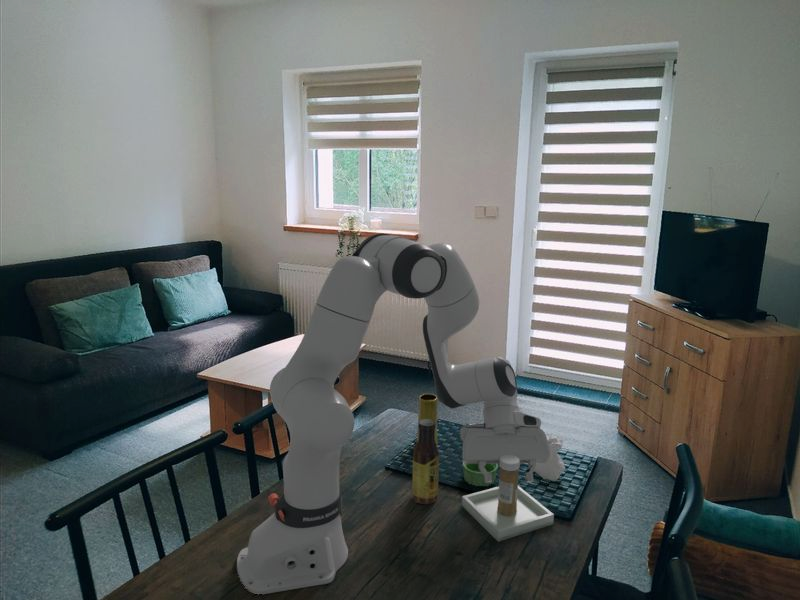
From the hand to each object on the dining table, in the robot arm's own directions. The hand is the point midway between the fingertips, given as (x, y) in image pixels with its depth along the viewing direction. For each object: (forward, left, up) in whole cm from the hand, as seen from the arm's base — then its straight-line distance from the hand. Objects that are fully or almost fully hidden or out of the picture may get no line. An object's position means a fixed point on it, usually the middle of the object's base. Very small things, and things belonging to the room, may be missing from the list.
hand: (509, 481), depth 136 cm
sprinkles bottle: (0, +1, -8) cm, 8 cm away
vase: (0, +40, -9) cm, 41 cm away
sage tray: (0, +1, -9) cm, 9 cm away
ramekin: (+3, +17, -9) cm, 19 cm away
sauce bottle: (-14, +15, -9) cm, 22 cm away
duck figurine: (+21, +12, -9) cm, 26 cm away
